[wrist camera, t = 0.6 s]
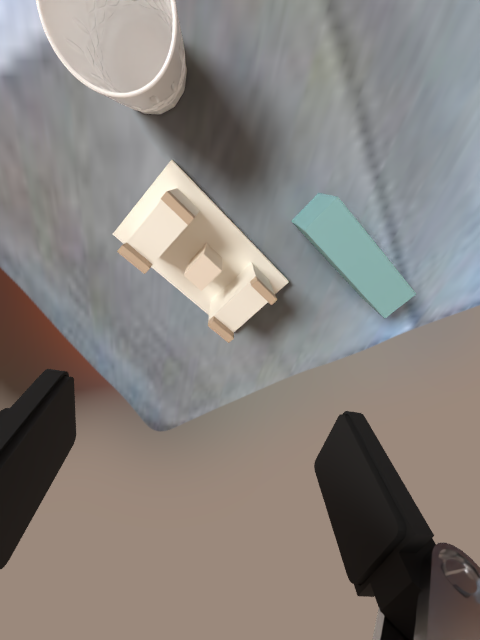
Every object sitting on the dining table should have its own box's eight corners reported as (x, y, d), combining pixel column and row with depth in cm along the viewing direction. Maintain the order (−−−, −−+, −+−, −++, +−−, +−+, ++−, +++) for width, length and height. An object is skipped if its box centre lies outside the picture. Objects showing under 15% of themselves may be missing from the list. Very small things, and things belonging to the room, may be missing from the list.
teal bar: (318, 192, 31) (337, 196, 25) (387, 276, 35) (416, 294, 30) (291, 220, 32) (304, 230, 27) (361, 297, 37) (384, 318, 31)
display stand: (173, 160, 28) (158, 156, 22) (287, 279, 35) (301, 302, 28) (115, 232, 31) (87, 247, 25) (230, 329, 38) (232, 361, 31)
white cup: (191, 10, 23) (171, -89, 15) (195, 124, 27) (180, 100, 18) (94, 3, 23) (13, -103, 14) (111, 120, 27) (55, 93, 18)
